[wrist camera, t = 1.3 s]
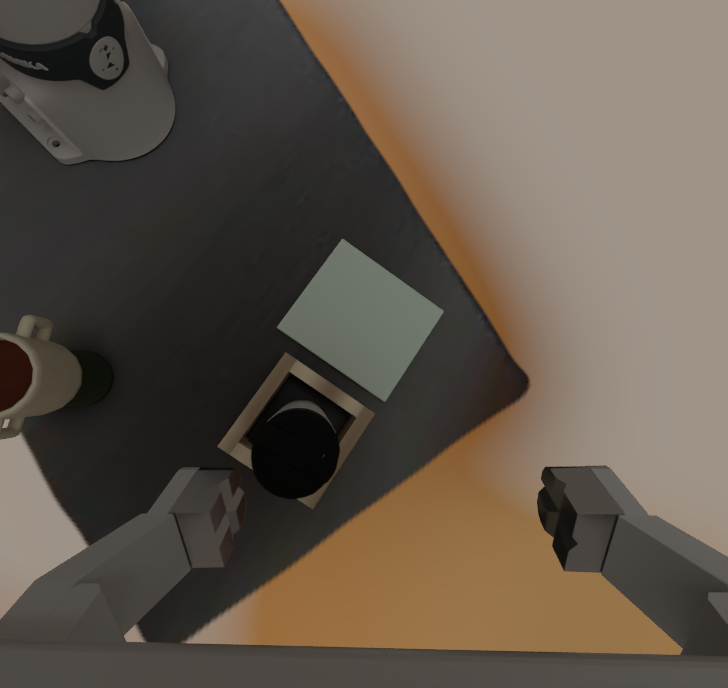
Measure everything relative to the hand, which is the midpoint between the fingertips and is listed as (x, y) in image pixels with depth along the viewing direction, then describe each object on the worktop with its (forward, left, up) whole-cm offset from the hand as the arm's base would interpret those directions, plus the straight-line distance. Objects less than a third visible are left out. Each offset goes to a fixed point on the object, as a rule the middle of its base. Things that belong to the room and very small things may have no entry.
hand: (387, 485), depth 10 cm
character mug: (-24, -12, -37) cm, 46 cm away
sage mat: (-2, +12, -36) cm, 38 cm away
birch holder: (-1, -3, -36) cm, 37 cm away
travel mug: (-1, -3, -37) cm, 37 cm away
